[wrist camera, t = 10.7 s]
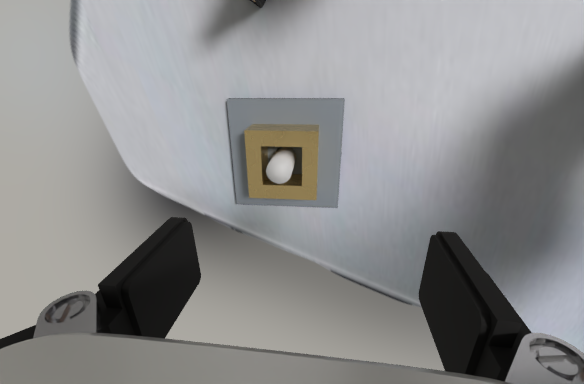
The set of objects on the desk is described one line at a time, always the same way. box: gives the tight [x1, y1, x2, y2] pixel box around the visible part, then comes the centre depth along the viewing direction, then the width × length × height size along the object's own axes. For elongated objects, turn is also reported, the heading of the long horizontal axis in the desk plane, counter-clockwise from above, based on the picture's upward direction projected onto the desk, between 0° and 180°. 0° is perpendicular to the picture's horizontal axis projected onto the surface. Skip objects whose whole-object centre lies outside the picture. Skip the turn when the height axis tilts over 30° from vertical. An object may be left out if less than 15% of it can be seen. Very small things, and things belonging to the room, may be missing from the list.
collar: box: [244, 124, 319, 200], centre depth 29 cm, size 7×7×4 cm
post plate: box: [227, 98, 344, 208], centre depth 29 cm, size 12×12×6 cm
